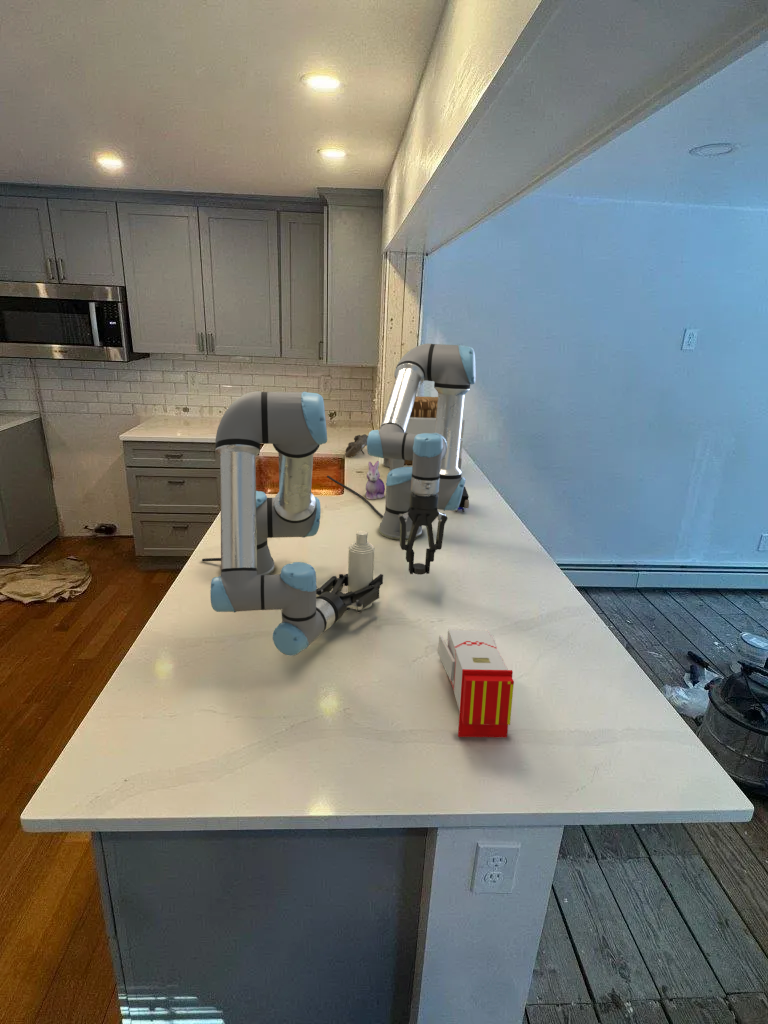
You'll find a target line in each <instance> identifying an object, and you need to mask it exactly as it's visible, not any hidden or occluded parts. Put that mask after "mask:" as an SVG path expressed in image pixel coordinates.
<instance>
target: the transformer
mask: <svg viewBox="0 0 768 1024" xmlns="http://www.w3.org/2000/svg"><path fill="white" fill-rule="evenodd" d="M437 402H438V396H417V395H416V398H415V401H414V405H413V408H412V412H411V415H410V419H409V422H408V426H407V429H406V433H411V434H423V433H429V434H431V433H435V426H436V414H437ZM464 429H465V419H464V418H462V428H461V438H460V449H459V459H458V468H459V469H460V470H461V471H462V461H463V460H462V453H463V442H464V441H463V440H462V439H463V438H464V431H465V430H464ZM412 464H413V461H410V460H402V459H390V458H383V466H384V467H388V468H389V472H390V471H391V470H393V469H396V468H401V467H405V466H406V467H412Z"/></svg>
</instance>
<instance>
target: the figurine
mask: <svg viewBox="0 0 768 1024" xmlns="http://www.w3.org/2000/svg"><path fill="white" fill-rule="evenodd" d="M367 465H368V471H367V473H366V478H367V482H366V484H365V491H366V492H365V496H364V497H366V498H365V499H367V500H377V499H378V500H379V499H382V498H384V497H385V493H386V485H385V483H384V481H383V480H382V479H381V473H380V471H379V466H380V461H379V460H377V461H376V462H375V463H374V464H373V462H372V461H368V464H367Z"/></svg>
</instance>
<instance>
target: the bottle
mask: <svg viewBox="0 0 768 1024" xmlns="http://www.w3.org/2000/svg"><path fill="white" fill-rule="evenodd" d="M355 535H356V539H355V540H354V541H353V542H352V543H350V545H349V546H348V556H347V558H348V560H347V563H348V564H347V574H348V586H347V592H350V591H352V592H355V591H357V590H360V589H362V588H365V587H368V586H369V583H370V582H371V581H373V580H374V569H375V568H374V567H375V547H374V545H373V544H372V543H371V542H370V541H368V536H369V532H367V531H366V530H358V531H356V534H355ZM372 605H373V602H372V603H371V604H369V605H368V606H366V607H365V608H363V610H366V609H369V608H371V607H372Z"/></svg>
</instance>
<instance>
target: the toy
mask: <svg viewBox="0 0 768 1024" xmlns="http://www.w3.org/2000/svg"><path fill="white" fill-rule="evenodd" d="M446 640H447V643H446V641H445V639H444V636H443V635H442V634H439V637H438V646H437V656H438V657H439V659H440V661H441V663H442V666H443V668H444V670H445V672H446V674H447V677H448V679H449V681H450V684H451V687H452V690H453V693H454V697H455V701H456V705H457V708H458V711H459V714H458V715H459V716H458V730H457V731H458V732H457V737H458V738H508V731H509V726H510V725H511V717H512V707H513V697H514V696H513V695H514V684H515V680H514V679H513V673H514V671H513V670H512V669H508V667H507V665H506V662H505V661H504V659H503V658H502V655H501V653H500V651H499V649H498V647H497V643H496V639H495V637H494V635H493V634H491V632H490V631H489V629H467V628H466V629H465V628H463V629H461V628H460V629H459V628H448V630H447V639H446Z"/></svg>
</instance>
